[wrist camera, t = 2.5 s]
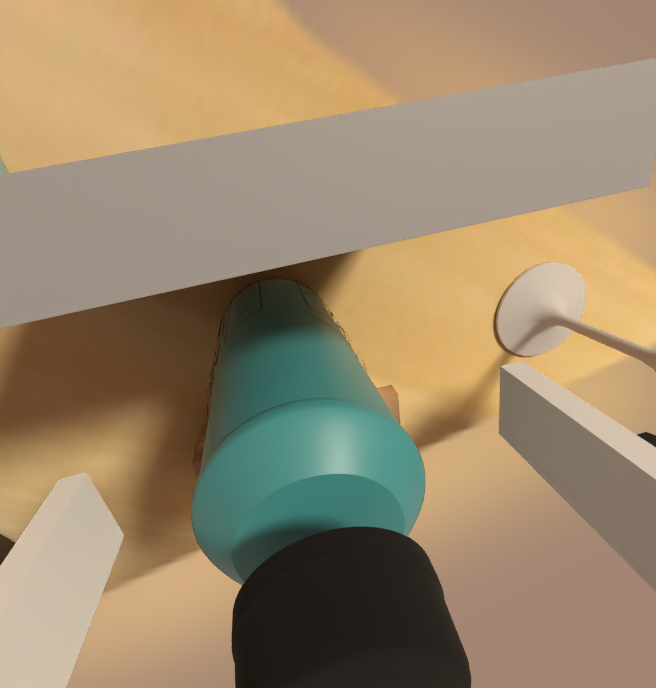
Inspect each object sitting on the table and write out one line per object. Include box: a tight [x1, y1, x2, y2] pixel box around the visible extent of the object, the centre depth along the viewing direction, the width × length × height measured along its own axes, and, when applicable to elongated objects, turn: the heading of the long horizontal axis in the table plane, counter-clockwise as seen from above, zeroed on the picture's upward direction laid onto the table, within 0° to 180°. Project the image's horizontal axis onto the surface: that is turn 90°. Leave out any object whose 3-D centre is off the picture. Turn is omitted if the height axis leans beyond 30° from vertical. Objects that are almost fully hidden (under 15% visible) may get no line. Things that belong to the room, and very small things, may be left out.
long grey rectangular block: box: [0, 58, 656, 328], centre depth 14 cm, size 18×2×15 cm, turn 100°
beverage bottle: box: [191, 279, 471, 688], centre depth 15 cm, size 6×7×20 cm
